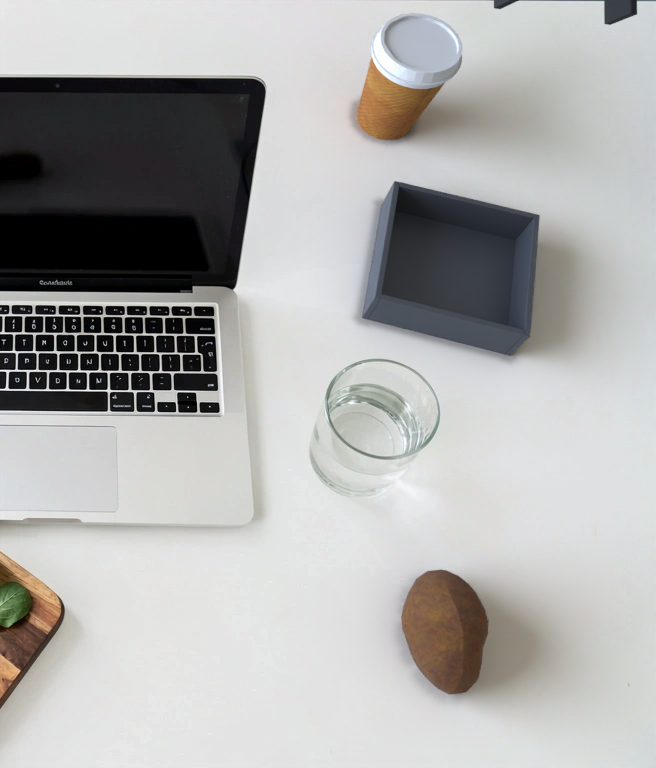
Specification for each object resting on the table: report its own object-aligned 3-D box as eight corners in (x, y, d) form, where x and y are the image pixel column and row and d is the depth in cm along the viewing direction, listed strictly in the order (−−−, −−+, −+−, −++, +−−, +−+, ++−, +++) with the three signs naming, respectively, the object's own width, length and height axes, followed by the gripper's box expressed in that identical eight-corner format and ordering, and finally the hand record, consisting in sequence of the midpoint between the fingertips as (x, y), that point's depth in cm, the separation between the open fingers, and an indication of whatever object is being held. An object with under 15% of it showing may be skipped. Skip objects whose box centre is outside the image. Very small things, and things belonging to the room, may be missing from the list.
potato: (402, 698, 78) (434, 687, 71) (379, 578, 82) (407, 558, 76) (483, 695, 78) (522, 684, 72) (455, 575, 82) (489, 555, 76)
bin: (519, 240, 99) (540, 214, 95) (508, 358, 92) (530, 336, 88) (380, 206, 100) (394, 180, 96) (360, 320, 94) (374, 297, 90)
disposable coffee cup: (344, 85, 108) (377, 3, 97) (424, 97, 107) (467, 17, 97) (338, 146, 104) (373, 68, 93) (422, 159, 103) (466, 83, 93)
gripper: (624, -176, 90) (626, 39, 90) (424, -226, 81) (427, 11, 82) (701, -223, 83) (703, 10, 83) (490, -282, 74) (493, -23, 75)
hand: (566, 11), depth 83 cm, fingers open, 13 cm apart
